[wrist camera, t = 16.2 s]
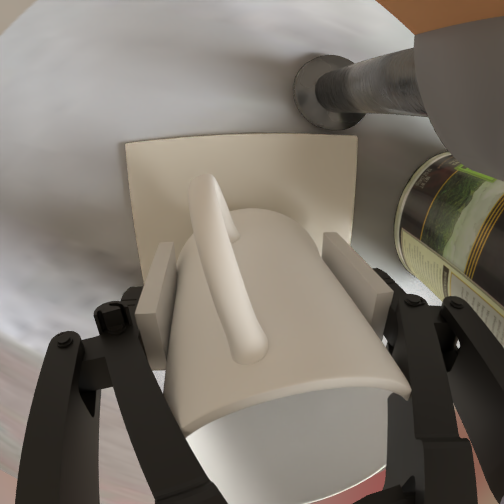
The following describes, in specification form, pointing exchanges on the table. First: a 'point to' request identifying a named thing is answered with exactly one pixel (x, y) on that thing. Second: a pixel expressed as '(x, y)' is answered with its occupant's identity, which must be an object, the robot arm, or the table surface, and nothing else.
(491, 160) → the swing arm
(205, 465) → the mug
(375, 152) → the table surface
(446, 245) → the coffee can
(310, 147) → the coaster
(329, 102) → the post
